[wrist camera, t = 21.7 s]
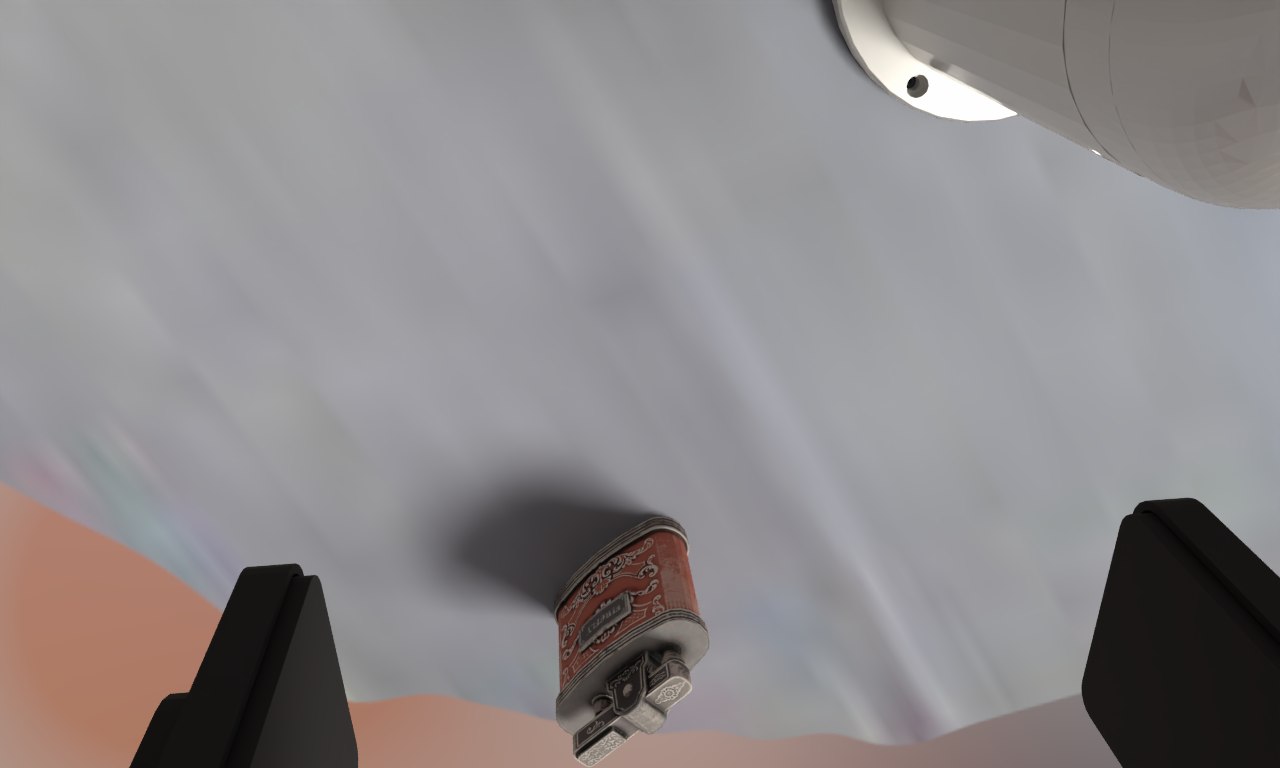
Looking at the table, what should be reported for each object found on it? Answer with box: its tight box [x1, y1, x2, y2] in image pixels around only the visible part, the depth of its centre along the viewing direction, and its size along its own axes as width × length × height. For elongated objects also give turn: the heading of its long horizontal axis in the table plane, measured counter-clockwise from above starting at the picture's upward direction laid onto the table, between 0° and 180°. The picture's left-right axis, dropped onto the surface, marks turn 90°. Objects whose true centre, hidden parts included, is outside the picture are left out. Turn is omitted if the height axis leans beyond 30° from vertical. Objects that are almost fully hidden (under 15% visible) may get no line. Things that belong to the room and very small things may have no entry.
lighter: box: [554, 517, 710, 767], centre depth 45 cm, size 8×3×10 cm, turn 133°
